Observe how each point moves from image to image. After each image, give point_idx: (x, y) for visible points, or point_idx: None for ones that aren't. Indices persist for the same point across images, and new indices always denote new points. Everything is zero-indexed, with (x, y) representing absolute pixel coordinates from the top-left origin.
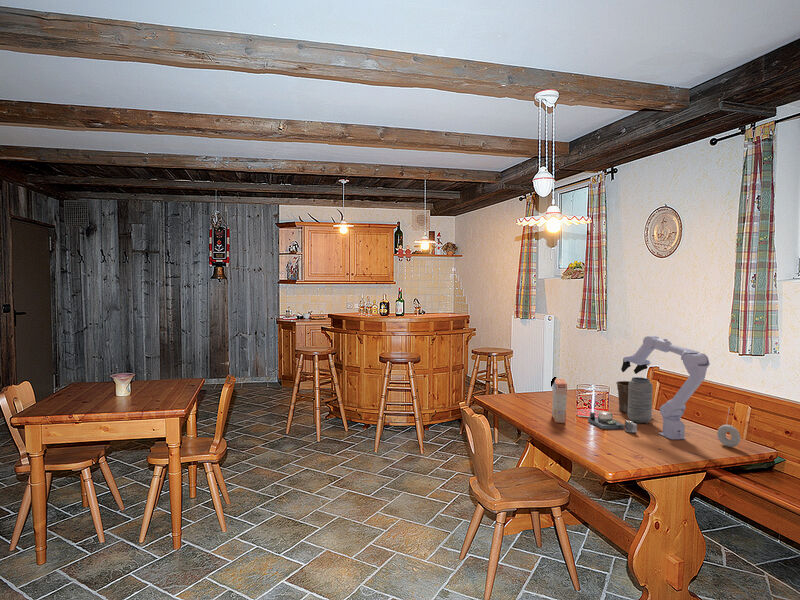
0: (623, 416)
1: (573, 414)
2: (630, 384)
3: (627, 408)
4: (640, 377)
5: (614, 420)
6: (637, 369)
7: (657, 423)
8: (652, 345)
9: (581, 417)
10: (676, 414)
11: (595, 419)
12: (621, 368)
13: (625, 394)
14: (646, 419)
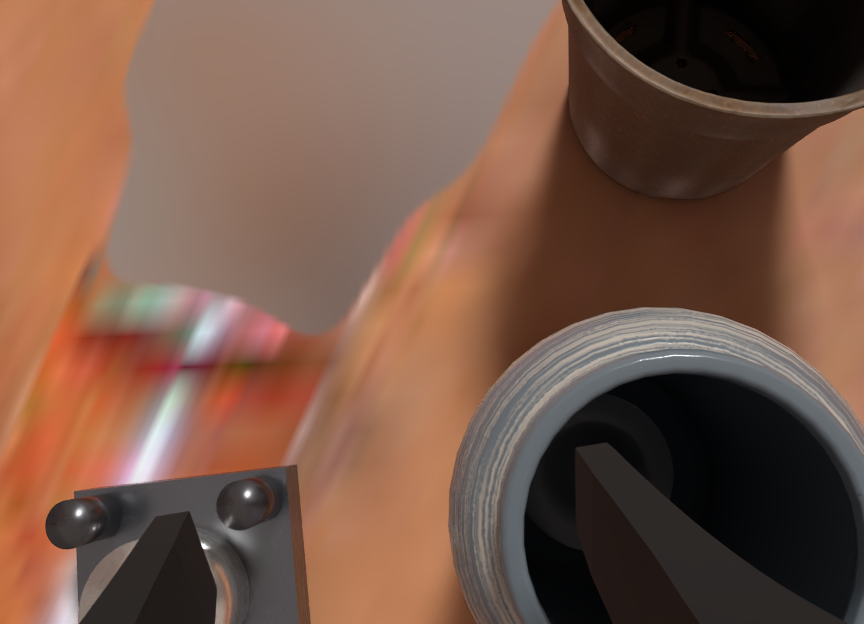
0: (514, 290)
1: (72, 245)
2: (451, 538)
3: (610, 163)
4: (761, 379)
5: (284, 579)
6: (633, 609)
7: None
8: None
9: (99, 343)
10: None
11: (118, 543)
12: (141, 542)
13: (605, 89)
14: None
